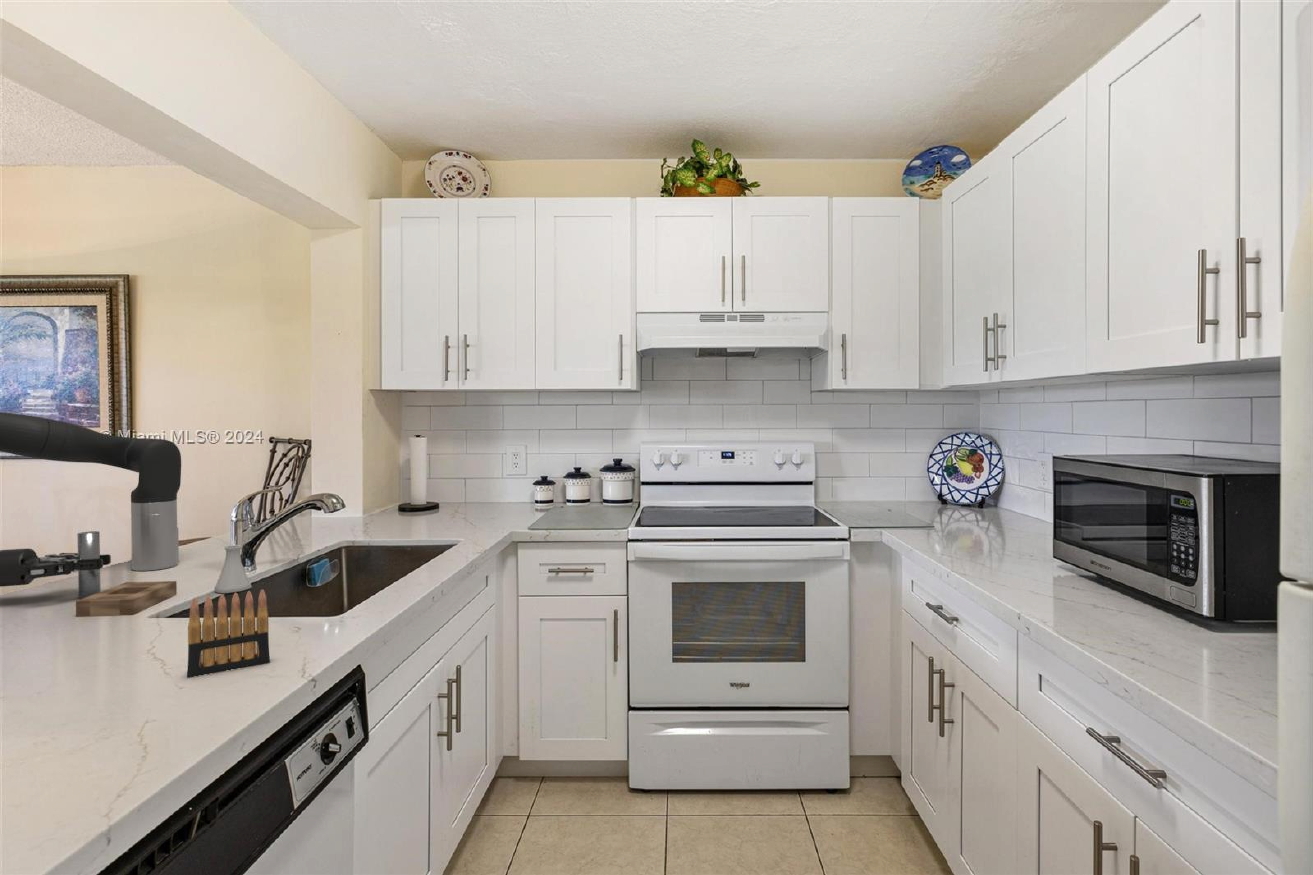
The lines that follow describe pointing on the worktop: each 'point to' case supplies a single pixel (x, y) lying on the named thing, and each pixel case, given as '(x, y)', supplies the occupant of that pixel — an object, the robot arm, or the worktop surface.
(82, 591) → the peg
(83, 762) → the worktop surface
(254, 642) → the ammunition clip
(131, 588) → the hole block
